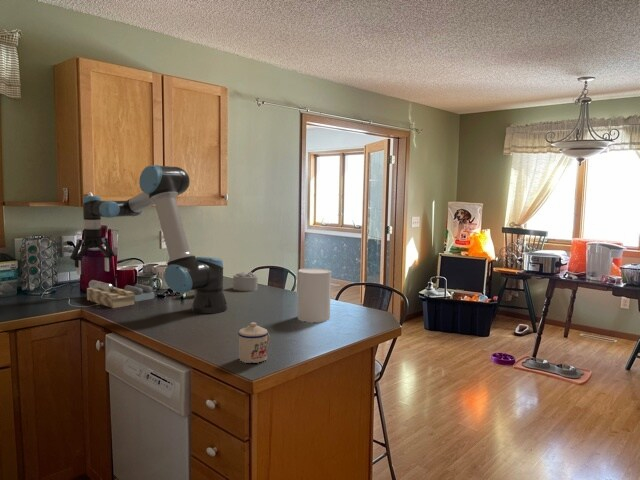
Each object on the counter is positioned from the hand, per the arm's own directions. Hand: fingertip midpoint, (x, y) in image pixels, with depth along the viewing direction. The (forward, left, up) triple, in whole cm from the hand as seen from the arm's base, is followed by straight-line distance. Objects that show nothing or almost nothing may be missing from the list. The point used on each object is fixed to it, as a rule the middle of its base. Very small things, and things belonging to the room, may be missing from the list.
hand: (93, 272), depth 232 cm
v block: (-18, -13, -12) cm, 25 cm away
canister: (-103, -42, -12) cm, 112 cm away
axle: (-6, 0, -8) cm, 10 cm away
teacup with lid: (-121, +8, -12) cm, 121 cm away
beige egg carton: (-16, 0, -12) cm, 20 cm away
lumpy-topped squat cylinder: (-38, -64, -12) cm, 75 cm away
